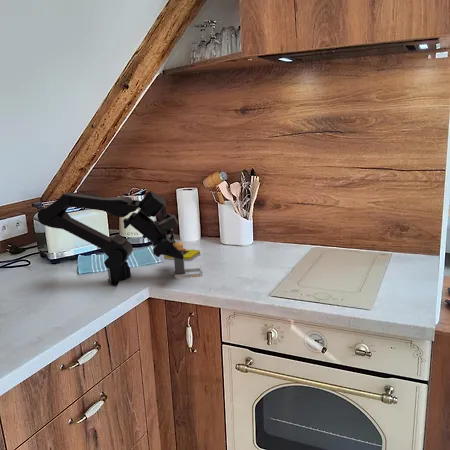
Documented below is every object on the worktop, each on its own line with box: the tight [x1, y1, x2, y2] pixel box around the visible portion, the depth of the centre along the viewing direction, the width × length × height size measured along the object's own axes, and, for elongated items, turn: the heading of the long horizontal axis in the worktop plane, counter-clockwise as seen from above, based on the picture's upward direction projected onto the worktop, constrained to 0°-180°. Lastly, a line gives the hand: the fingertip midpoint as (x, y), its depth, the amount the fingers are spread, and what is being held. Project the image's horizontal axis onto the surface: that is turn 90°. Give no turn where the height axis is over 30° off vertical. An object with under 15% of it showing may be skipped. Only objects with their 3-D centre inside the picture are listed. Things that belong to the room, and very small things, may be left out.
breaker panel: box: [172, 265, 203, 279], centre depth 156 cm, size 10×7×3 cm, turn 94°
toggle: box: [173, 241, 186, 276], centre depth 154 cm, size 3×4×11 cm
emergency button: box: [163, 247, 201, 262], centre depth 175 cm, size 9×4×15 cm
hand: (183, 256), depth 154 cm, fingers closed on toggle, 4 cm apart
